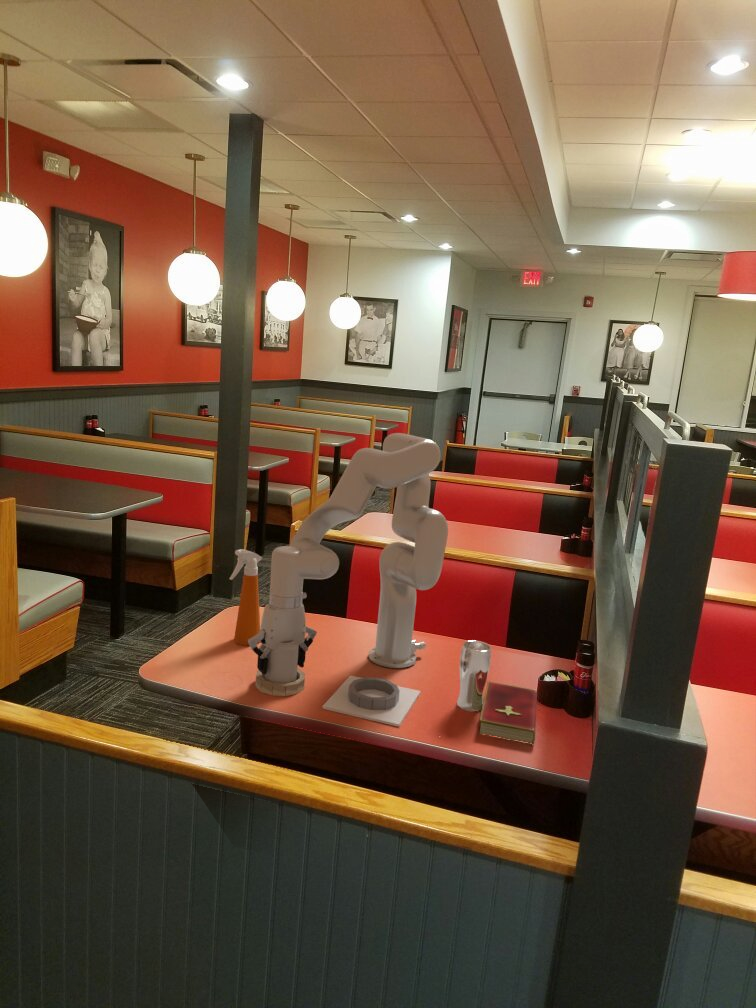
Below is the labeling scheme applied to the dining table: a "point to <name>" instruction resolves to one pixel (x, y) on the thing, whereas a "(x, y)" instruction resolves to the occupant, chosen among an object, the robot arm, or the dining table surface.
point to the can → (282, 663)
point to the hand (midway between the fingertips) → (281, 668)
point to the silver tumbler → (473, 674)
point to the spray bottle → (247, 597)
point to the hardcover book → (509, 712)
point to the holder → (373, 700)
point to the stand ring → (280, 685)
